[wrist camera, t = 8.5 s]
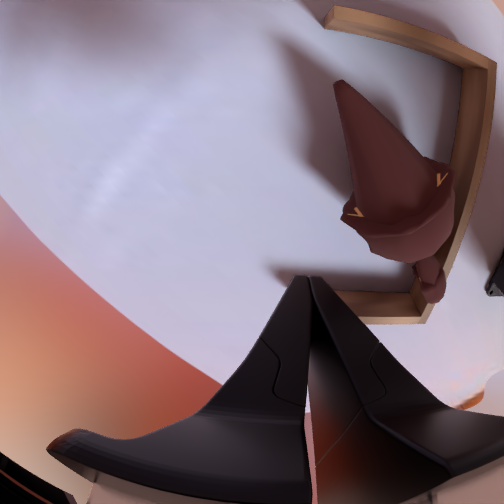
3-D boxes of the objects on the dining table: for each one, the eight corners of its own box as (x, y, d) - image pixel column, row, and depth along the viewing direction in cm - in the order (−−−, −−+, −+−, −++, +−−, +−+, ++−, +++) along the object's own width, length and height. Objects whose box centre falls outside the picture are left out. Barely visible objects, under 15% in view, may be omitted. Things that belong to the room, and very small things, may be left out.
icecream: (261, 141, 11) (388, 330, 18) (425, 58, 7) (486, 299, 14) (282, 100, 16) (381, 259, 23) (387, 46, 12) (460, 230, 19)
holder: (471, 61, 12) (496, 62, 10) (413, 300, 23) (425, 323, 20) (324, 17, 13) (334, 5, 10) (296, 296, 23) (298, 322, 21)
